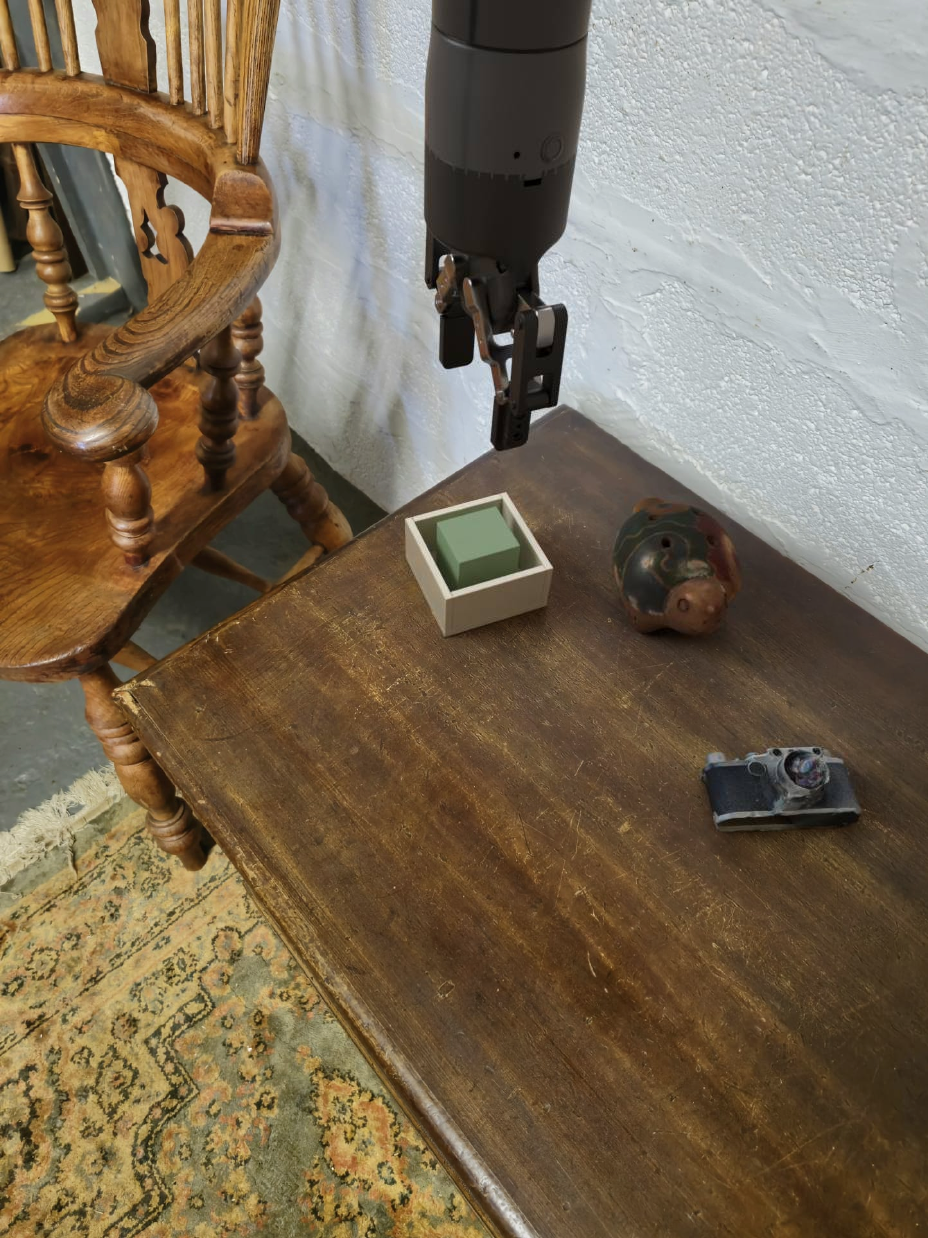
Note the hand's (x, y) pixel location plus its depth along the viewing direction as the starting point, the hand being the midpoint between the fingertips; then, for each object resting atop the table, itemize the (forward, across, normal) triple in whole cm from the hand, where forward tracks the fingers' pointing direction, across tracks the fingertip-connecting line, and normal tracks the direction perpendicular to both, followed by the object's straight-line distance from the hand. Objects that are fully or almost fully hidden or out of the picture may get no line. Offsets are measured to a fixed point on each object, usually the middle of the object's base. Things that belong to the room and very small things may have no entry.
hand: (481, 403), depth 54 cm
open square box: (+18, 0, +1) cm, 18 cm away
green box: (+17, 0, +1) cm, 17 cm away
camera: (+18, +25, +12) cm, 33 cm away
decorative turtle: (+18, +7, +14) cm, 24 cm away
